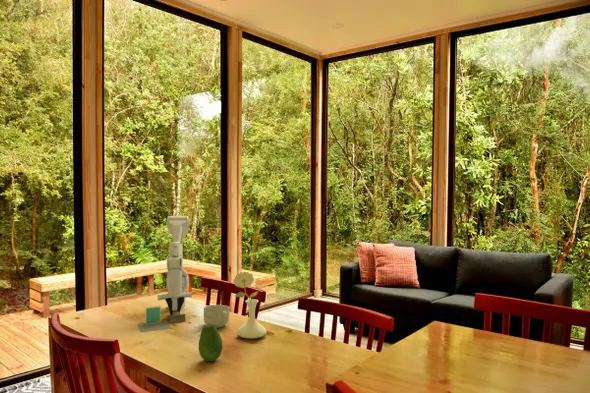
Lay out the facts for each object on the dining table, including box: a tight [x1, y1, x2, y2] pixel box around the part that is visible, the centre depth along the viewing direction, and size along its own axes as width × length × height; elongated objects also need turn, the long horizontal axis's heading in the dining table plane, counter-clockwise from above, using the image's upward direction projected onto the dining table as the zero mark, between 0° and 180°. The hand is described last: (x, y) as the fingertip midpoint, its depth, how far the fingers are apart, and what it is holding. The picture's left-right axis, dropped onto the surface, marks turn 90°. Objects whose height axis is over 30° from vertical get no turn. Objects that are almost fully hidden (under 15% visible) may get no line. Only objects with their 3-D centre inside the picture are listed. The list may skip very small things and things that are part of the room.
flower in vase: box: [233, 271, 267, 340], centre depth 177 cm, size 13×11×25 cm
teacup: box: [203, 304, 231, 329], centre depth 189 cm, size 14×11×8 cm
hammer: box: [169, 308, 186, 324], centre depth 200 cm, size 13×6×4 cm, turn 24°
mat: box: [136, 319, 173, 333], centre depth 188 cm, size 13×12×1 cm
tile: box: [144, 305, 162, 324], centre depth 192 cm, size 2×6×7 cm, turn 114°
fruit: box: [198, 324, 223, 362], centre depth 151 cm, size 8×8×12 cm
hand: (174, 315), depth 201 cm, fingers closed on hammer, 2 cm apart
